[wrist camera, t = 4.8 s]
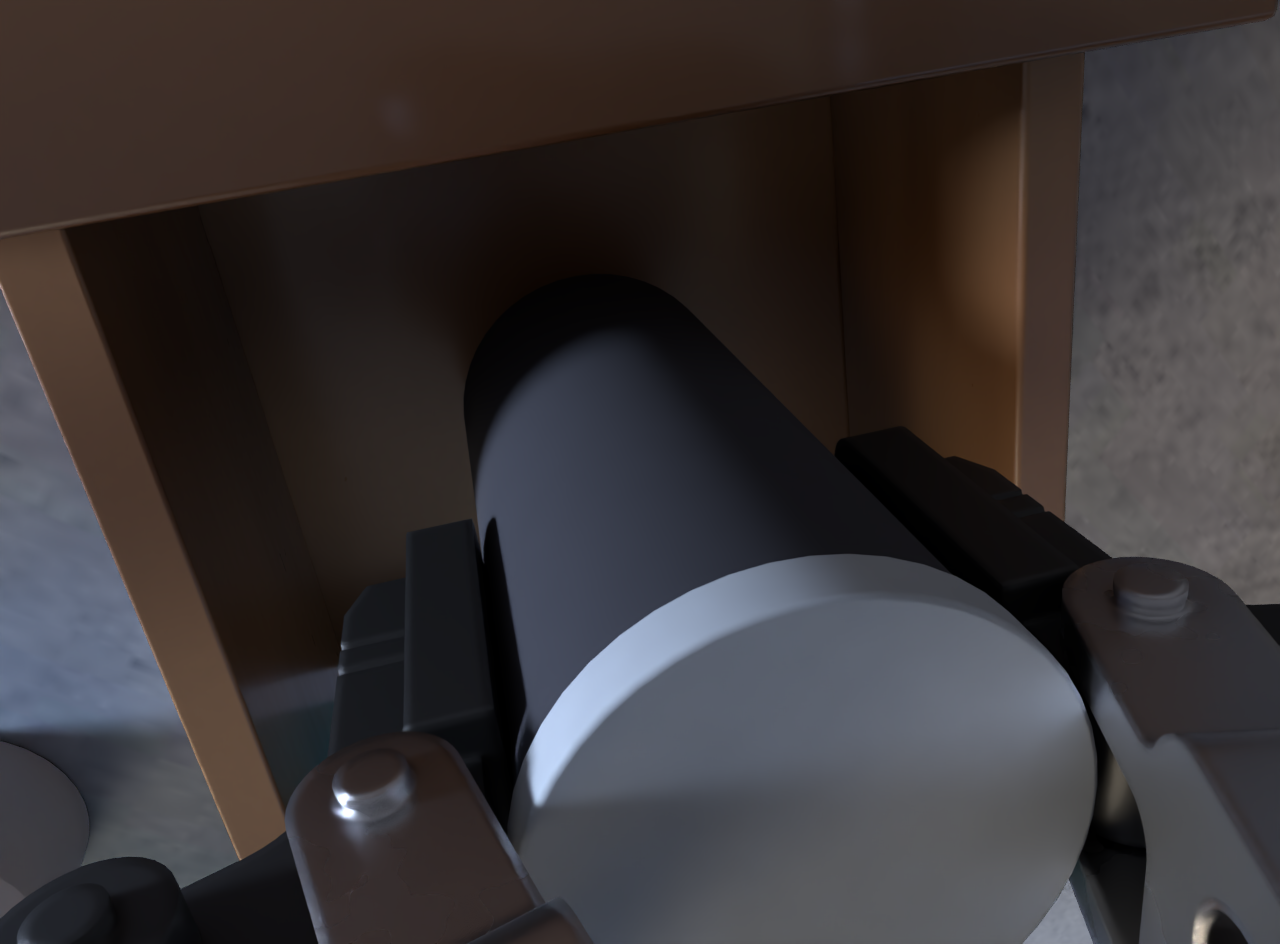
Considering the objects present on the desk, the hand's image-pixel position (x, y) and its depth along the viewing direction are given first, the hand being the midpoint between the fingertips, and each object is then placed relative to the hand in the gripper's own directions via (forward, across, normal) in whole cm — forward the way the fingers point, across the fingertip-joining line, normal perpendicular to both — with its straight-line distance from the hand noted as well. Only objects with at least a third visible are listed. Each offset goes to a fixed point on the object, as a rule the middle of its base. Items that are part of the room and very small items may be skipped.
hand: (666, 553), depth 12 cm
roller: (+5, 0, 0) cm, 5 cm away
